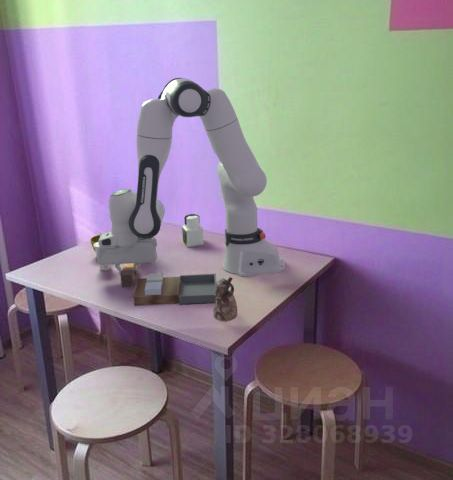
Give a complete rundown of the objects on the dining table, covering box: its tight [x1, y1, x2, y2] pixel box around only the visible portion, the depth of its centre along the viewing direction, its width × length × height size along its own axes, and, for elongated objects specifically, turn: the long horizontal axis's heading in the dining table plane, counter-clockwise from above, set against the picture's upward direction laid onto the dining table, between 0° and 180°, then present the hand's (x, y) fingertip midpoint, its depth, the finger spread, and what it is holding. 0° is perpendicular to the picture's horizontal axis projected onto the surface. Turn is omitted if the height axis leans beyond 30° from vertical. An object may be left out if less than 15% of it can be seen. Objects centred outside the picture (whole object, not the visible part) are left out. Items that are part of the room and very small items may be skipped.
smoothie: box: [94, 231, 112, 272], centre depth 189 cm, size 6×6×14 cm
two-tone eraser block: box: [119, 263, 137, 288], centre depth 181 cm, size 4×14×5 cm, turn 3°
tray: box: [178, 273, 217, 306], centre depth 169 cm, size 12×16×3 cm
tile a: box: [146, 272, 164, 285], centre depth 171 cm, size 5×5×2 cm
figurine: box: [213, 276, 238, 322], centre depth 153 cm, size 7×7×12 cm
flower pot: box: [90, 233, 103, 253], centre depth 202 cm, size 10×10×7 cm
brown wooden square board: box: [132, 276, 181, 307], centre depth 169 cm, size 14×14×3 cm
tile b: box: [145, 282, 162, 295], centre depth 165 cm, size 5×5×2 cm
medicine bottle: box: [181, 213, 205, 248], centre depth 211 cm, size 7×7×12 cm
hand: (129, 274), depth 181 cm, fingers closed on two-tone eraser block, 3 cm apart
